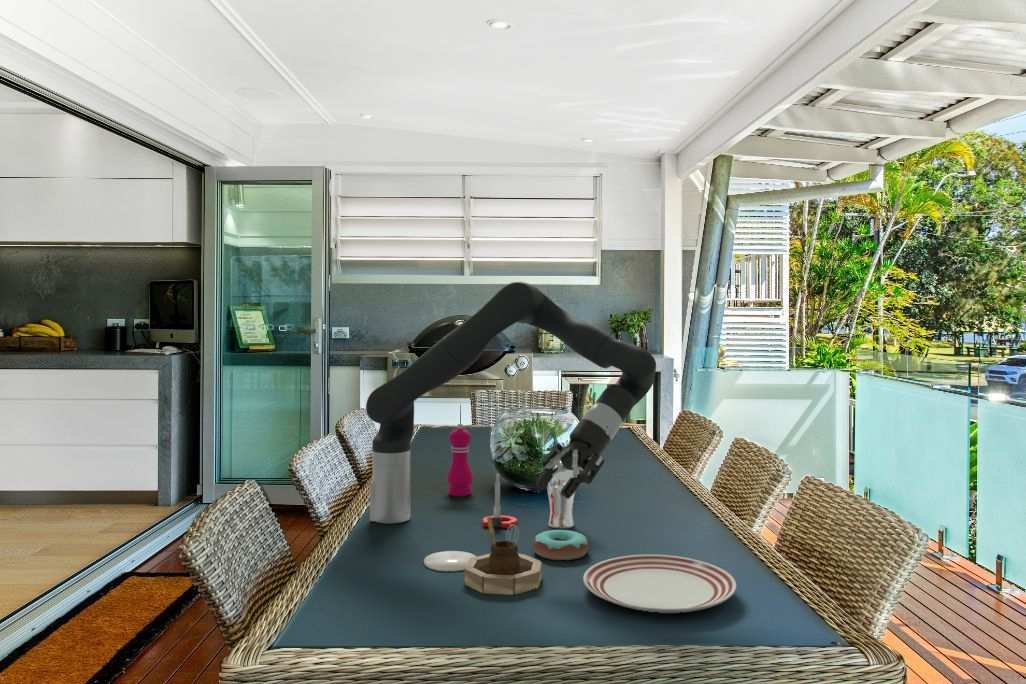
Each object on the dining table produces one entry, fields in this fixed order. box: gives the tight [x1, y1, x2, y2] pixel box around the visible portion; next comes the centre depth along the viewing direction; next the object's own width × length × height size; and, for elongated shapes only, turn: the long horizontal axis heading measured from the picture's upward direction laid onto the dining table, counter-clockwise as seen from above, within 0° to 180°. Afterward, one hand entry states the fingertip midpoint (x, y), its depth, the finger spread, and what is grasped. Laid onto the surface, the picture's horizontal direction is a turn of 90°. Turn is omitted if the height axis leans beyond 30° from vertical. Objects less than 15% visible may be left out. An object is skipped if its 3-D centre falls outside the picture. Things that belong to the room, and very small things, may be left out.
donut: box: [532, 529, 590, 561], centre depth 162 cm, size 12×12×4 cm
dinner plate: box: [582, 554, 737, 614], centre depth 139 cm, size 28×27×3 cm
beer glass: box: [546, 460, 576, 530], centre depth 182 cm, size 7×7×15 cm
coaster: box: [423, 550, 478, 572], centre depth 155 cm, size 11×11×1 cm
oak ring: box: [463, 552, 543, 596], centre depth 145 cm, size 14×14×3 cm
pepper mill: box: [446, 423, 474, 497], centre depth 214 cm, size 7×7×20 cm
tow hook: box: [482, 473, 518, 529], centre depth 184 cm, size 8×13×9 cm
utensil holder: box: [487, 515, 521, 575], centre depth 145 cm, size 6×6×12 cm
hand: (551, 491), depth 151 cm, fingers open, 8 cm apart
